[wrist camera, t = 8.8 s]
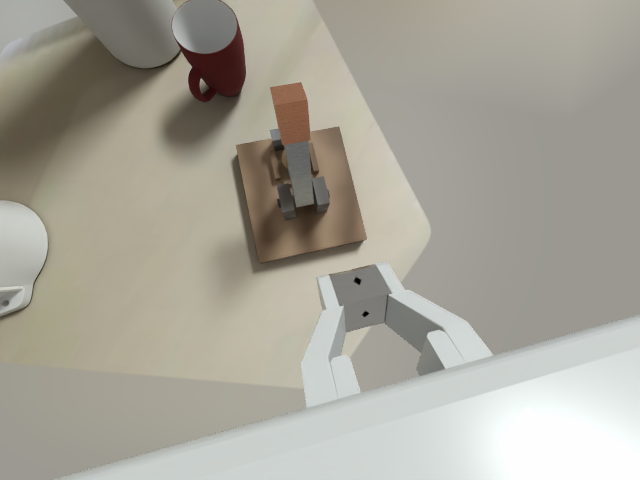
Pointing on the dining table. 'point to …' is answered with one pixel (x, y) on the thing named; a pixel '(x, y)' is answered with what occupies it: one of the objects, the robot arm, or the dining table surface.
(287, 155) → the lever
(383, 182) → the dining table surface
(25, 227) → the robot arm
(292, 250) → the bench
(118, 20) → the cylinder vase
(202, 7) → the mug
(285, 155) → the walnut
